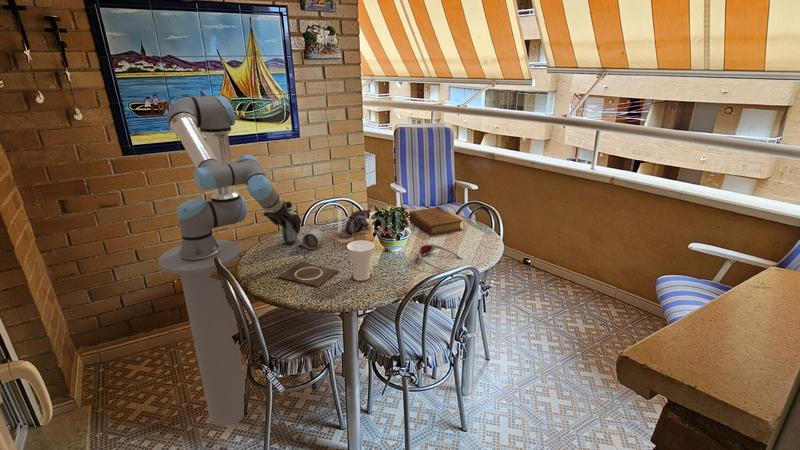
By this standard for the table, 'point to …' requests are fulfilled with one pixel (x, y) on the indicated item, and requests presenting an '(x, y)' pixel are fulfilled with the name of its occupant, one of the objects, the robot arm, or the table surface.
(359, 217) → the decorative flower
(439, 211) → the diary
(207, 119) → the robot arm
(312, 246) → the ceramic mug
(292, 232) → the cylinder
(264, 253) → the table surface
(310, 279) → the drawing board
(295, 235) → the beverage bottle
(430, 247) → the sunglasses
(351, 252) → the cup
